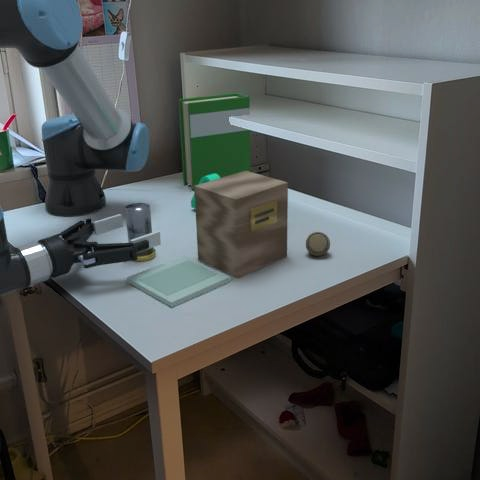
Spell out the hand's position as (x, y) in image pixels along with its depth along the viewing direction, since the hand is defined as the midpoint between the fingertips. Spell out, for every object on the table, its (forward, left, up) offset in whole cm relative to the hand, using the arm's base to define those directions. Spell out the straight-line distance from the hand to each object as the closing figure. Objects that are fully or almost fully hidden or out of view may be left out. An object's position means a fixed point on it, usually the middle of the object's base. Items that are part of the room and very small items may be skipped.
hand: (139, 228), depth 124 cm
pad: (+15, -2, -6) cm, 16 cm away
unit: (+16, +14, -6) cm, 22 cm away
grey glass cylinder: (0, 0, -6) cm, 6 cm away
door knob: (+26, +26, -7) cm, 37 cm away
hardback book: (-26, +44, -7) cm, 52 cm away
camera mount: (-8, +29, -7) cm, 31 cm away
